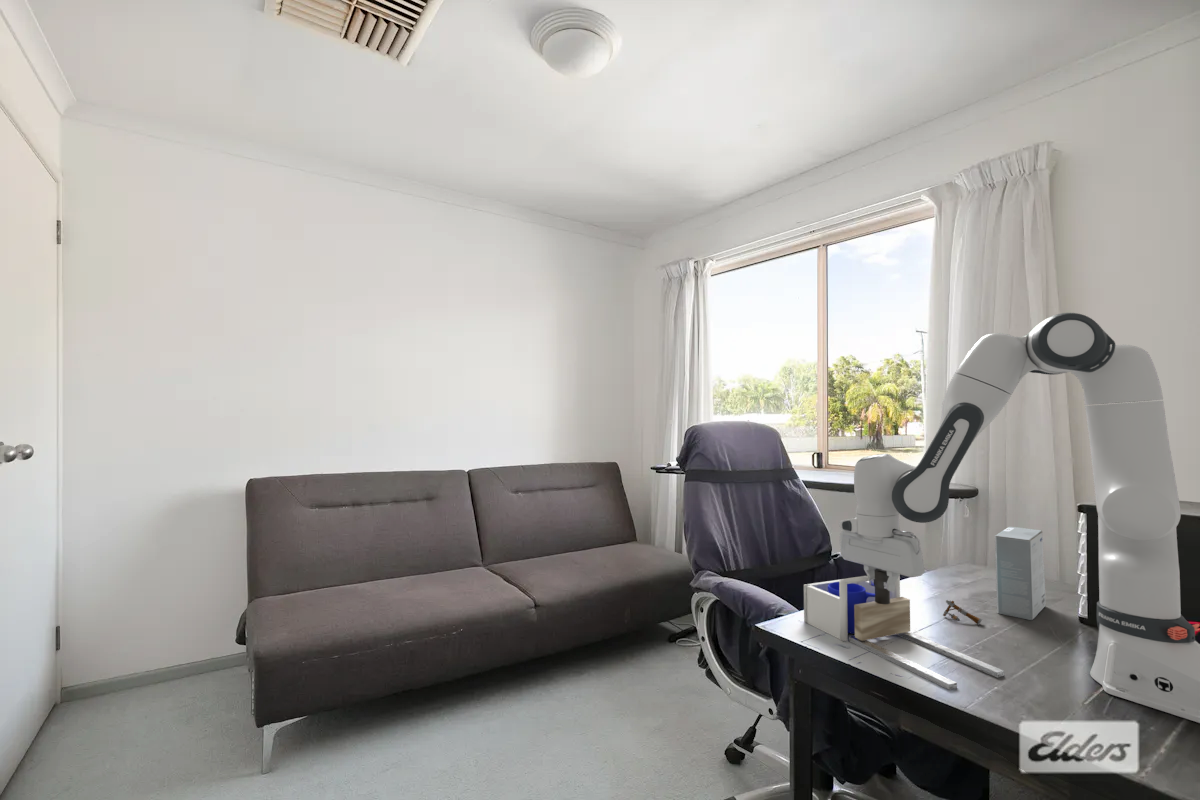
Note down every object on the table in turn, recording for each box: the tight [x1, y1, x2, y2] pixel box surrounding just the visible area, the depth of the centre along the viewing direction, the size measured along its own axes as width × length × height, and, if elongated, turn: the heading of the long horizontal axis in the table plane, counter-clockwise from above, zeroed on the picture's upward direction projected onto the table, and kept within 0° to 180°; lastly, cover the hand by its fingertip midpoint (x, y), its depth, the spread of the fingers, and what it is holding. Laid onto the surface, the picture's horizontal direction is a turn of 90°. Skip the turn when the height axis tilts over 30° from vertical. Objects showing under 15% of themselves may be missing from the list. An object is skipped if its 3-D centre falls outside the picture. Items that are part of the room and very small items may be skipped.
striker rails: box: [848, 631, 1005, 691], centre depth 118 cm, size 24×15×1 cm, turn 21°
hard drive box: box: [994, 526, 1047, 621], centre depth 147 cm, size 16×8×20 cm, turn 132°
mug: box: [828, 582, 875, 634], centre depth 133 cm, size 8×12×10 cm
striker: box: [854, 568, 911, 641], centre depth 128 cm, size 3×14×14 cm, turn 111°
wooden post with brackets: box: [942, 599, 984, 626], centre depth 139 cm, size 2×8×4 cm, turn 44°
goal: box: [803, 574, 901, 642], centre depth 136 cm, size 13×18×14 cm
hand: (881, 588), depth 128 cm, fingers closed on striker, 3 cm apart
